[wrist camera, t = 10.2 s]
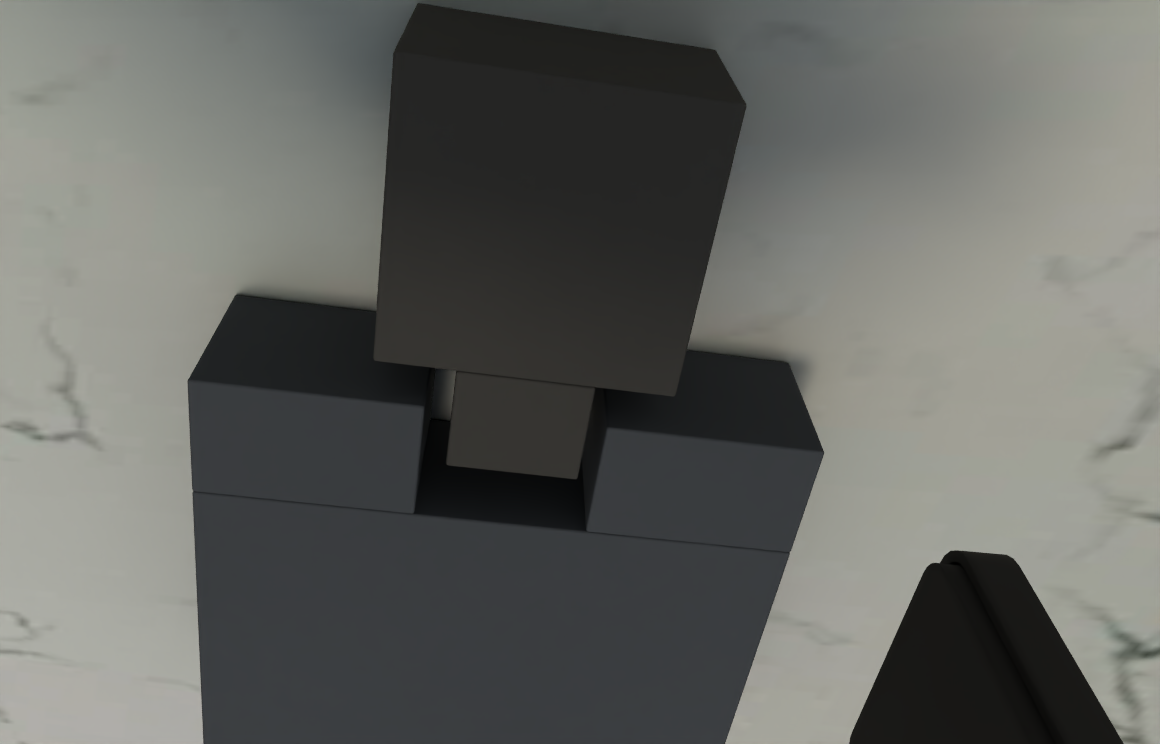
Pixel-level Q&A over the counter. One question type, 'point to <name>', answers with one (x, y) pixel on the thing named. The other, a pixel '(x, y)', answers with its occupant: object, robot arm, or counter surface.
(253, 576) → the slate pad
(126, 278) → the counter surface
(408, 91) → the dark tabbed block
